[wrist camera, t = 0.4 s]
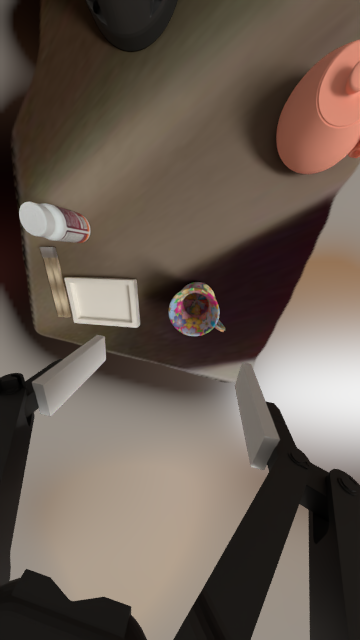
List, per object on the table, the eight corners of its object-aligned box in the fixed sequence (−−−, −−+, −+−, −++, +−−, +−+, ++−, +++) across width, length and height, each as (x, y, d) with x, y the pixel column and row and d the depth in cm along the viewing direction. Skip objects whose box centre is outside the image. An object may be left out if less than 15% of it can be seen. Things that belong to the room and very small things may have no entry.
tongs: (44, 247, 42) (39, 246, 41) (55, 247, 42) (51, 247, 41) (61, 315, 49) (57, 316, 47) (71, 316, 48) (68, 317, 47)
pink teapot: (314, 59, 25) (377, -58, 16) (384, 120, 26) (483, 43, 17) (255, 152, 30) (277, 105, 20) (317, 201, 31) (364, 177, 21)
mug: (170, 303, 42) (159, 318, 32) (192, 271, 38) (186, 277, 29) (209, 330, 43) (210, 352, 33) (234, 301, 39) (243, 317, 30)
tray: (70, 276, 44) (64, 277, 42) (136, 279, 41) (133, 280, 39) (79, 320, 48) (74, 322, 46) (140, 324, 45) (137, 327, 44)
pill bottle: (69, 208, 38) (16, 190, 27) (94, 220, 38) (50, 206, 27) (65, 236, 40) (15, 229, 30) (88, 247, 40) (47, 245, 30)
